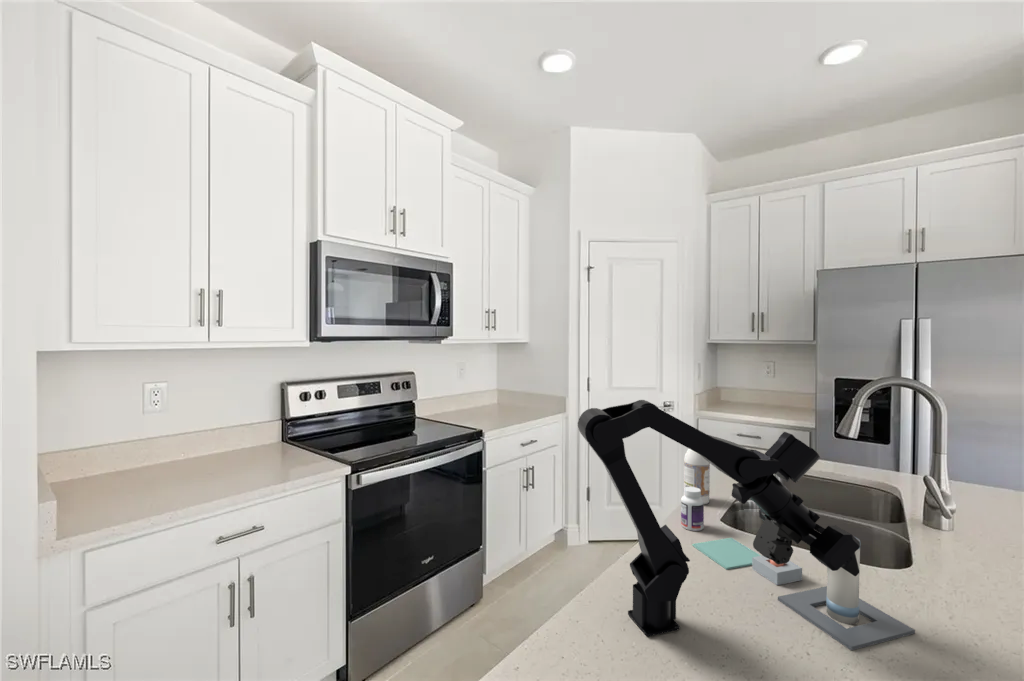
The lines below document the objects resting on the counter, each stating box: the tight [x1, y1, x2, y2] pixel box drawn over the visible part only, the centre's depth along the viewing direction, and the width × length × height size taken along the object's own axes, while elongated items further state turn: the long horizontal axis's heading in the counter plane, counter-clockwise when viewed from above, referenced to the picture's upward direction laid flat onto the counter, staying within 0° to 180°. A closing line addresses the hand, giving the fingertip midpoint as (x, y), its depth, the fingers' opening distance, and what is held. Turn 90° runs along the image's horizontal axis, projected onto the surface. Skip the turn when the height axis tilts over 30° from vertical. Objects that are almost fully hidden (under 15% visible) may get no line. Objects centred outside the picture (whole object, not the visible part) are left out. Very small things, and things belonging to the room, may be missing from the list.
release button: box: [770, 559, 783, 567], centre depth 95 cm, size 2×2×2 cm
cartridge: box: [825, 535, 861, 625], centre depth 81 cm, size 5×5×14 cm
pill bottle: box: [680, 487, 705, 532], centre depth 117 cm, size 5×5×10 cm
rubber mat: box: [691, 537, 762, 571], centre depth 103 cm, size 11×11×1 cm
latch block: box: [751, 555, 803, 586], centre depth 95 cm, size 6×6×2 cm
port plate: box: [777, 585, 916, 651], centre depth 81 cm, size 14×14×1 cm
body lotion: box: [683, 448, 711, 505], centre depth 134 cm, size 7×7×20 cm
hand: (836, 560), depth 81 cm, fingers open, 9 cm apart
